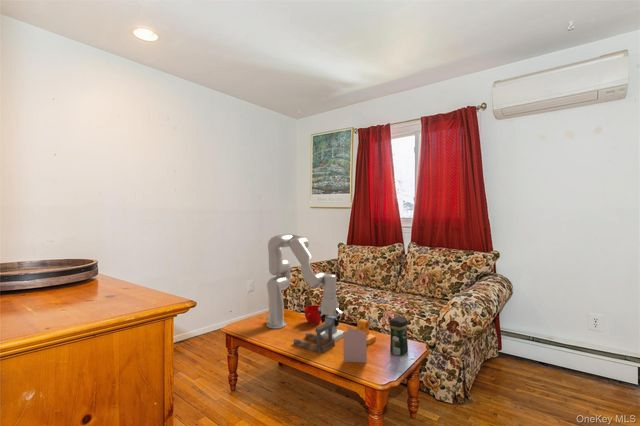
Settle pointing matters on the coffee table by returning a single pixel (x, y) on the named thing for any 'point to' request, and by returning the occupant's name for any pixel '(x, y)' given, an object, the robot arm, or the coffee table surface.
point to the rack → (314, 347)
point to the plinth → (334, 335)
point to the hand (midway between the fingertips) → (329, 324)
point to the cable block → (332, 320)
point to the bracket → (366, 330)
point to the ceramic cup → (312, 314)
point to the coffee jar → (398, 336)
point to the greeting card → (354, 346)
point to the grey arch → (322, 328)
